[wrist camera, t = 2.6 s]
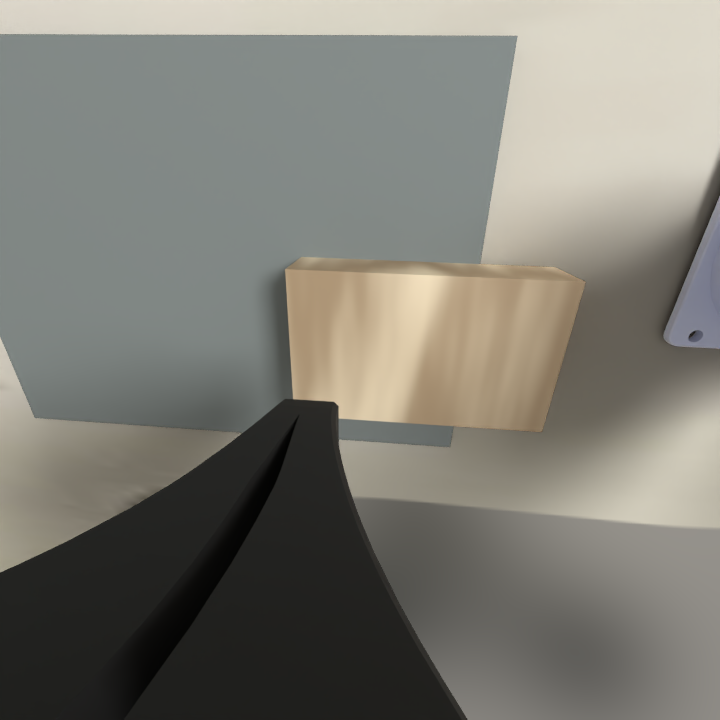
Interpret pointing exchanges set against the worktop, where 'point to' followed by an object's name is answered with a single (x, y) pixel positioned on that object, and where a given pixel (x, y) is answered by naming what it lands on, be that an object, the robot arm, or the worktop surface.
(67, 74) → the rubber mat
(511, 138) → the worktop surface
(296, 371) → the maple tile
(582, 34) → the worktop surface
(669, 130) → the worktop surface
